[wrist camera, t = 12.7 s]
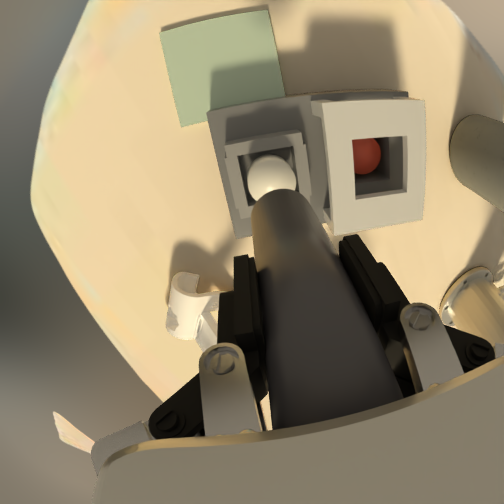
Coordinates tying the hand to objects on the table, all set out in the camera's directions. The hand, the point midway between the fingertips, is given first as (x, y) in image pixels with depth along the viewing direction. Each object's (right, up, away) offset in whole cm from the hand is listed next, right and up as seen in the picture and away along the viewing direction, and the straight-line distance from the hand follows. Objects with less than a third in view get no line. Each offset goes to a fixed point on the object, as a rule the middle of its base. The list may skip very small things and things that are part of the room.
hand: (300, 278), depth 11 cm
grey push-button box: (+4, +11, +16) cm, 20 cm away
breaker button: (+8, +11, +15) cm, 21 cm away
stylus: (0, +3, +4) cm, 5 cm away
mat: (-5, +18, +11) cm, 22 cm away
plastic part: (-8, -5, +26) cm, 27 cm away
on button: (-1, +7, +12) cm, 14 cm away
